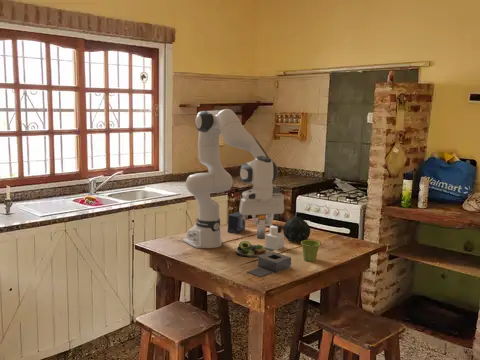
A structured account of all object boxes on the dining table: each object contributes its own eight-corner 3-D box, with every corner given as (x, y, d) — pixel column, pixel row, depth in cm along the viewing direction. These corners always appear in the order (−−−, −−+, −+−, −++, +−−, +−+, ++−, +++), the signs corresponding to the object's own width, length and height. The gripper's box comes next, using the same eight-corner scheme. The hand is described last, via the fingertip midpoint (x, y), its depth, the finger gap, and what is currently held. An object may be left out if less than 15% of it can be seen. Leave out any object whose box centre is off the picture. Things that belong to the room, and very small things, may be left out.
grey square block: (257, 266, 225) (258, 256, 225) (272, 261, 233) (273, 251, 232) (275, 273, 218) (276, 262, 217) (290, 267, 226) (291, 257, 225)
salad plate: (275, 248, 254) (276, 240, 253) (272, 260, 236) (272, 251, 236) (239, 246, 257) (239, 237, 256) (233, 256, 239) (234, 248, 239)
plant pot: (323, 260, 238) (324, 243, 236) (311, 264, 231) (312, 246, 230) (308, 255, 244) (309, 238, 243) (296, 259, 238) (297, 242, 236)
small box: (236, 234, 278) (237, 216, 276) (227, 232, 281) (227, 214, 279) (245, 230, 287) (246, 212, 285) (236, 228, 290) (236, 211, 288)
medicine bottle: (273, 244, 260) (274, 223, 258) (284, 247, 256) (285, 225, 254) (265, 247, 255) (266, 225, 253) (276, 250, 250) (277, 228, 248)
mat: (247, 272, 218) (247, 271, 218) (258, 268, 224) (258, 267, 224) (260, 277, 213) (260, 276, 212) (271, 272, 218) (271, 272, 218)
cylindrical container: (258, 239, 213) (259, 215, 211) (255, 237, 216) (256, 213, 215) (266, 239, 214) (267, 215, 212) (263, 236, 218) (264, 213, 216)
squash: (301, 225, 279) (289, 208, 272) (319, 233, 267) (306, 215, 260) (286, 243, 276) (273, 227, 268) (303, 252, 264) (290, 234, 256)
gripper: (281, 191, 218) (280, 220, 220) (238, 192, 212) (237, 223, 214) (287, 194, 212) (285, 224, 214) (242, 195, 206) (241, 226, 208)
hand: (261, 223), depth 214 cm, fingers closed on cylindrical container, 4 cm apart
